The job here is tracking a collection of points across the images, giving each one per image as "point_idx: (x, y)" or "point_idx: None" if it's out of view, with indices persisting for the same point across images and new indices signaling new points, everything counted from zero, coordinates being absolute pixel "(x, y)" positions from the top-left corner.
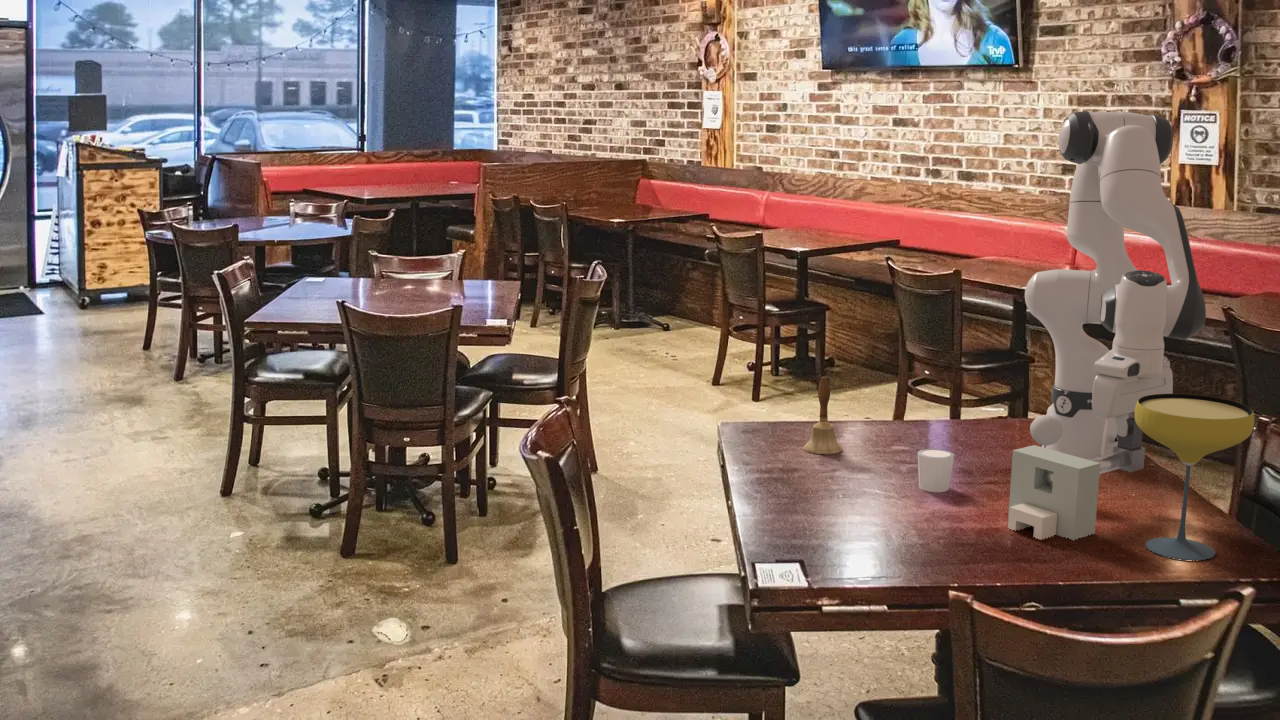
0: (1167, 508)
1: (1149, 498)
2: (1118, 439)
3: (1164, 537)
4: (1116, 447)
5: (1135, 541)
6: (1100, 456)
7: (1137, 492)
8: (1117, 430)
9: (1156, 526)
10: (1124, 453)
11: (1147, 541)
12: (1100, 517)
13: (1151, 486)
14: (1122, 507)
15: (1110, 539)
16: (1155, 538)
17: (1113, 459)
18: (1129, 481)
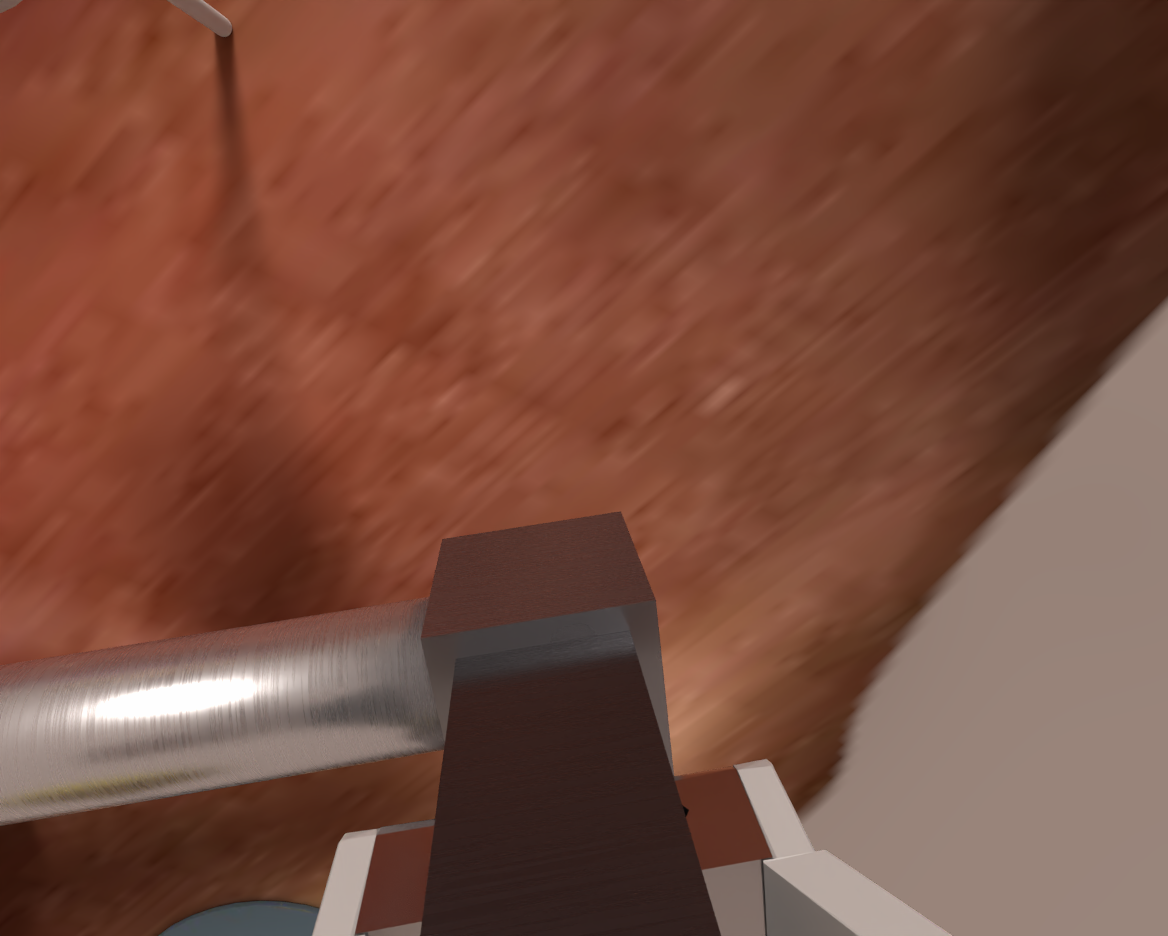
0: (680, 634)
1: (743, 484)
2: (448, 718)
3: (295, 919)
4: (428, 669)
5: (153, 886)
6: (101, 747)
7: (781, 376)
8: (328, 883)
9: (406, 789)
10: (431, 743)
11: (186, 923)
12: (230, 603)
13: (953, 330)
14: (477, 533)
15: (50, 836)
16: (248, 913)
17: (229, 786)
18: (939, 186)
